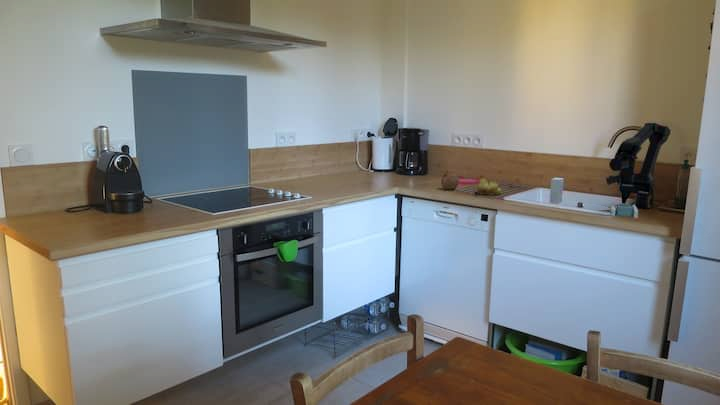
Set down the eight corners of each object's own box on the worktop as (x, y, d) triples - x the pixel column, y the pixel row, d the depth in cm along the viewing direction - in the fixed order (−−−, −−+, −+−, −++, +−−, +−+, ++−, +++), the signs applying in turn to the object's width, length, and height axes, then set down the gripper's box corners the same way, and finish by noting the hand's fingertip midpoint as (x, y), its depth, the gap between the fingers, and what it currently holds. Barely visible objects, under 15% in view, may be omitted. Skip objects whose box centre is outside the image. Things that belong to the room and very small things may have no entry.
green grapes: (503, 194, 274) (504, 179, 272) (497, 197, 265) (498, 181, 264) (479, 191, 280) (480, 177, 279) (473, 194, 272) (474, 179, 270)
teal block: (616, 212, 233) (617, 204, 232) (629, 213, 231) (630, 205, 230) (617, 215, 227) (618, 206, 226) (631, 216, 225) (632, 207, 224)
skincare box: (553, 201, 256) (555, 177, 254) (562, 202, 254) (564, 178, 251) (548, 203, 252) (551, 178, 249) (557, 204, 249) (560, 179, 247)
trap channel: (610, 209, 239) (611, 202, 238) (634, 211, 235) (635, 204, 235) (611, 216, 225) (612, 209, 225) (637, 218, 222) (638, 211, 221)
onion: (443, 195, 284) (435, 179, 282) (448, 188, 292) (441, 172, 289) (458, 191, 279) (451, 174, 276) (463, 184, 286) (456, 168, 284)
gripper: (606, 165, 244) (603, 198, 247) (608, 171, 227) (604, 205, 230) (633, 167, 240) (629, 200, 243) (636, 172, 223) (632, 208, 226)
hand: (623, 203), depth 235 cm, fingers closed
